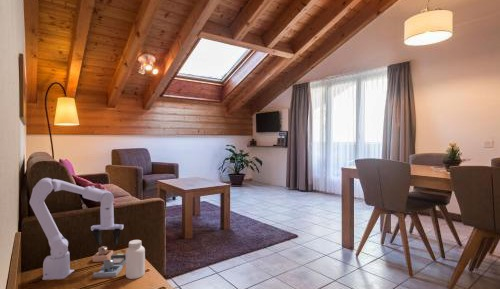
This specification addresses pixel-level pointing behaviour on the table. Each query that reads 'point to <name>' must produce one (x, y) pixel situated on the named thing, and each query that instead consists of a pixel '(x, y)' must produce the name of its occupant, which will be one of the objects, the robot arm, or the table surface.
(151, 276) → the table surface
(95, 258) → the pink square tube
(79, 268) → the table surface
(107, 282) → the table surface
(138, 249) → the pill bottle
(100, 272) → the trough
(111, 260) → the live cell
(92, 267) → the table surface
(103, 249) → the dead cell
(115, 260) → the pad
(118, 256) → the digital scale
